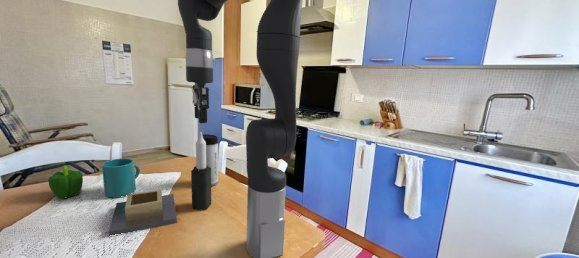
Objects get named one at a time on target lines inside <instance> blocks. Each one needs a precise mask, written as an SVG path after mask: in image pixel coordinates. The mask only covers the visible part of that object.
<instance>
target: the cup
mask: <svg viewBox="0 0 579 258" xmlns="http://www.w3.org/2000/svg"><path fill="white" fill-rule="evenodd" d="M135 170H136V172H135ZM101 172H102V173H101V174H102V180H103V181H102V182H103V191H104V196H105V197H106V198H109V197H119V198H122V197H121V196H124V197H127V196H128V194H131V193H135V191H136V189H137V187H136V185H137V184H136V179H137V178H138V177H139V176H140V173H141V169H140V167H139V165H137V164H135V161H134V159H132V158H128V157H127V158H125V157H124V158H112V159H109V160H107V161H104V162H102V164H101ZM126 195H127V196H126Z"/></svg>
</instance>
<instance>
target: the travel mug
mask: <svg viewBox="0 0 579 258" xmlns="http://www.w3.org/2000/svg"><path fill="white" fill-rule="evenodd" d="M202 136H203V139H204V141H205V142H206V165H207V166H209V167H210V168H211V187H214V186H217V185H218V183H219V138H218V136H217V135H215V134H202Z"/></svg>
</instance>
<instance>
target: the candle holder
mask: <svg viewBox="0 0 579 258" xmlns="http://www.w3.org/2000/svg"><path fill="white" fill-rule="evenodd" d="M162 191H163V190H162V189H159V188H158V189H153V190H148V191H140V192H133V193H132V194H128V195H127V196H126V201H120V202H117V203H116V204H115V208H114V211H113V215H112V218H111V221H110V225H109V228H108V231H107V233H108V237H109V236H110V235H115V234H121V233H126V234H129V233H128V232H130V233H134V232H133V231H135V232H138V231H137V230H140V231H144V230H148V229H149V230H150V229H154V228H158V227H162V226H169V225H172V224H177V223H178V218H177V212H176V204H175V199H174V198H175V197H174V194H170V193H169V194H166V195H163V194H162ZM121 235H122V234H121Z"/></svg>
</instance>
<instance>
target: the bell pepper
mask: <svg viewBox="0 0 579 258" xmlns="http://www.w3.org/2000/svg"><path fill="white" fill-rule="evenodd" d="M62 169H63V171H56V172H55V173H53V175H51V176H49V178H48V186H49V188H50V190H51V193H52V194H53V196H54V197H56V198H57V199H59V198H63V199H66V198H65V197H68V198H69V197H74V196H73V195H75V196H77V195H76V194H78V193H79V194H80V193H81V192H82V188H83V184H84V183H83V182H84V181H83V180H84V179H83V178H84V177H83V172H82V171H81V170H72V169H68V166H67V165H66V164H65V165H63V166H62ZM79 194H78V195H79Z"/></svg>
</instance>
